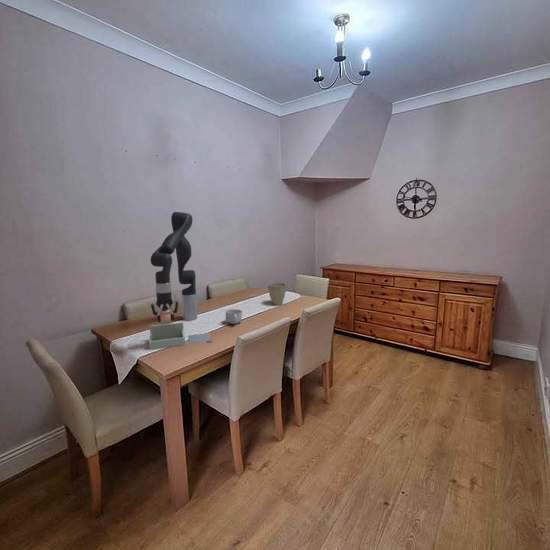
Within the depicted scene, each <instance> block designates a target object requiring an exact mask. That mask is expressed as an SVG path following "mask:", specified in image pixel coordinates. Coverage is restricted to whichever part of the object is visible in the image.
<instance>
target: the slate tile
mask: <svg viewBox="0 0 550 550" xmlns="http://www.w3.org/2000/svg"><path fill="white" fill-rule="evenodd" d="M187 339H188V343H189V344H196V343H197V344H198V343H203V342H206V343H207V344H208V343H213V341H212V337H211V335H210V333H209V332H205V333H198V334H197V333H196V334H189V335H187Z"/></svg>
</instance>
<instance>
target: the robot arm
mask: <svg viewBox="0 0 550 550" xmlns="http://www.w3.org/2000/svg"><path fill="white" fill-rule="evenodd" d="M170 222H171V228H172V231H173V232H172V233H170V234H168V235H167V236H166V237H165V239H164V240H163V242H162V244H161V245H160V246H159V247H158V248H157V249H156V250H155V251H154V252H153V253H152V255H151V257H150V264H151V265H152V266H153V267H156V268H157V267H158V268H159V267H161V268H162V269H161V270H158V271H156V272H155V294H156V302H154V303H153V302H152V303H151V304H150V307H151V311H152V314H153V315H154V316H157V322H158V323H161V321H160V313H159V312H160V311H161V310H164V309H169V310H171V321H172V322H173V321H174V320H175V314H176V313H178V307H179V301H178V300H175V301H174V300H172V299H173V298H172V297H173V296H172V286H171V277H170V276H171V275H170V274H171V268H172V265H173V258H172V255H173V253H174V252H175V254H176V259H177V260H176V261H177V273H178V275H177V276H178V282H179V284H181V285H189V286H188V287H185V288H183V289H182V290H181V300H182V301H181V303H182V316H183V317H182V319H183V320H184V321H193V320H196V319H198V303H197V289H196V287H197V286H196V282H197V281H196V280H197V279H196V278H197V277H196V272H195V270H193V269H190V270H189V269H188V270H184V269H185V267H186V265H187V264H188V262H189V261H190V259H191V257H192V246H191V243H190V241H189V240H188V238H187V237H186V236H185V235H186V234H187V233H188V232H189V230H190V229H191V227H192V225H193V216H192V214H190V213H186V212H180V211H173V213H171V220H170ZM172 305H174V310H173V308H172ZM156 306H157V307H158V310H157V312H156Z"/></svg>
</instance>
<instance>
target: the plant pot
mask: <svg viewBox="0 0 550 550" xmlns="http://www.w3.org/2000/svg"><path fill="white" fill-rule="evenodd" d="M267 289H268V293H269V297H270V300H271V303H272V305H274V306H281V305H282V304H283V303H284V300H285V295H286V293H287V292H286V290H287V283H286V282H285V283H284V282H270V283H268V284H267Z"/></svg>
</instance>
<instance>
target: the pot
mask: <svg viewBox="0 0 550 550" xmlns="http://www.w3.org/2000/svg"><path fill="white" fill-rule="evenodd" d="M159 313H160V321H161V322H160V325H163V324H172V322H173V321H171V310H169V309H164V310H161V311H160V312H159Z"/></svg>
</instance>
